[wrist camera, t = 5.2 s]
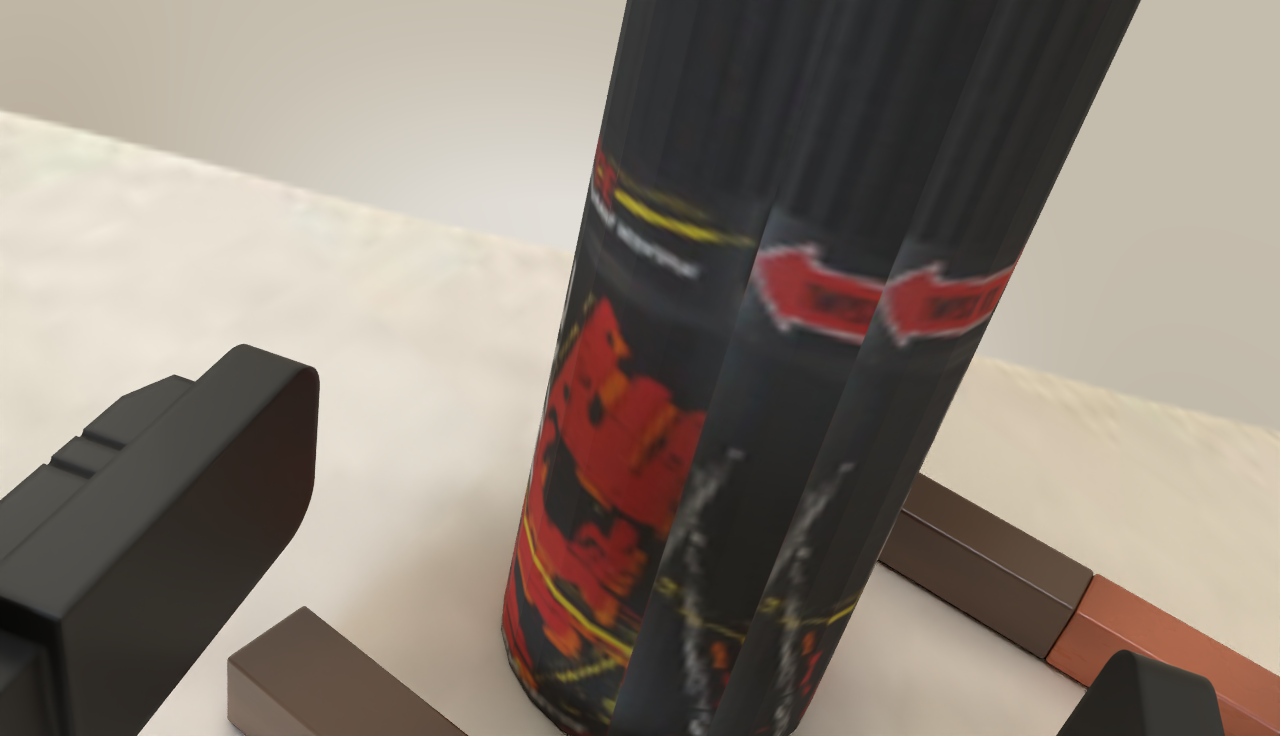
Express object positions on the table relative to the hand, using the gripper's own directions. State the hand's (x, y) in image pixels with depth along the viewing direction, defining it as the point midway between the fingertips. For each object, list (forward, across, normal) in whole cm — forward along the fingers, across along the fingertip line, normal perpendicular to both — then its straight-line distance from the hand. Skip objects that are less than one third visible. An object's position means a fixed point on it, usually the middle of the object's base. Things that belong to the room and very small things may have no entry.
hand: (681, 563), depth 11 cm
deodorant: (+6, 0, +8) cm, 10 cm away
